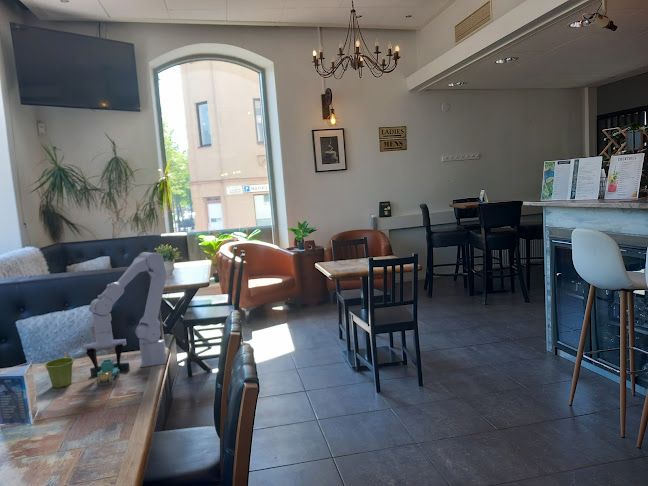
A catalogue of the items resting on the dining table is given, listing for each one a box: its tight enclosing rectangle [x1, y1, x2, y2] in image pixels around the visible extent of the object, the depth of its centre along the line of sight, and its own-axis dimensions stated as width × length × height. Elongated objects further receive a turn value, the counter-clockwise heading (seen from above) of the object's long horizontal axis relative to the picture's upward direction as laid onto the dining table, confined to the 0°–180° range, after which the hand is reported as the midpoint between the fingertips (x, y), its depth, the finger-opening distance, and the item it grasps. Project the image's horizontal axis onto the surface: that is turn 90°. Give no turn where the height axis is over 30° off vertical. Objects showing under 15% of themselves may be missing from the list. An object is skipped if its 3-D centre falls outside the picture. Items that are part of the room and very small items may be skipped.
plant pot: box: [44, 357, 74, 389], centre depth 177 cm, size 9×9×9 cm
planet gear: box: [96, 358, 121, 377], centre depth 182 cm, size 8×8×5 cm
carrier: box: [89, 361, 131, 387], centre depth 181 cm, size 14×15×5 cm
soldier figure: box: [62, 351, 72, 358], centre depth 198 cm, size 8×5×12 cm
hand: (107, 366), depth 182 cm, fingers open, 7 cm apart
